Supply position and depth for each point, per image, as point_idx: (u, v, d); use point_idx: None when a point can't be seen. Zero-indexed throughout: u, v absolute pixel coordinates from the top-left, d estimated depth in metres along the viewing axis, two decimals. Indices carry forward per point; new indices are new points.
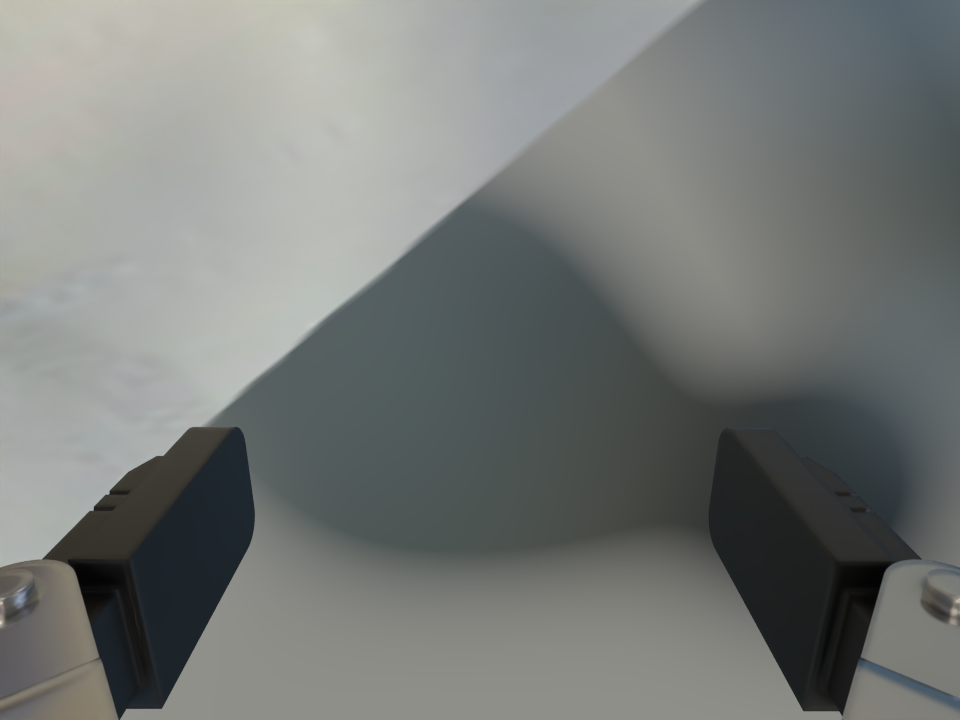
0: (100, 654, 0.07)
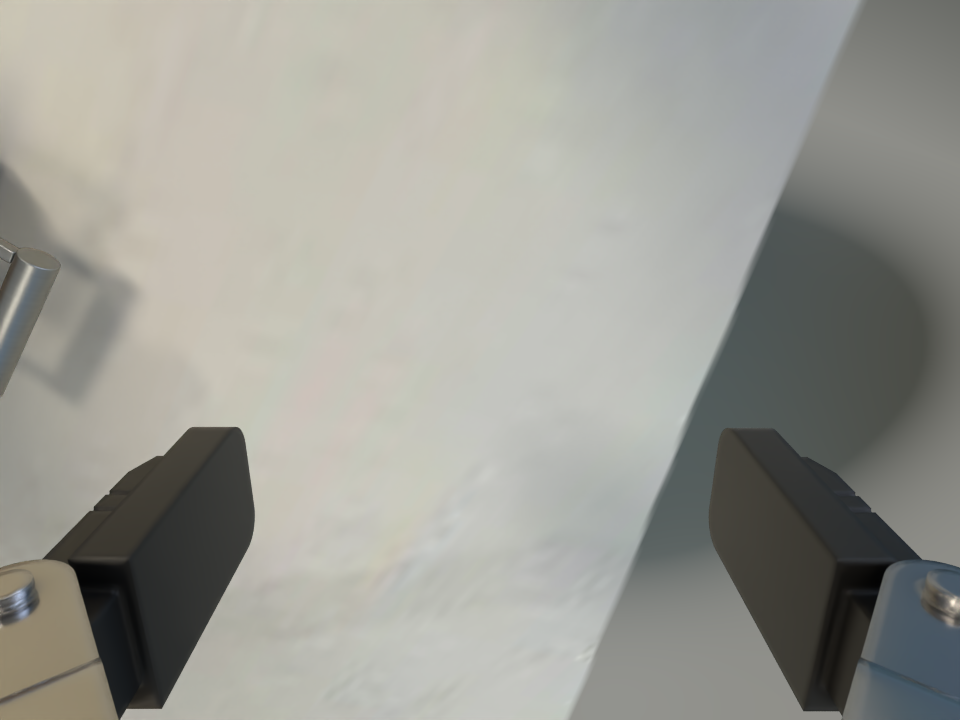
0: (100, 654, 0.07)
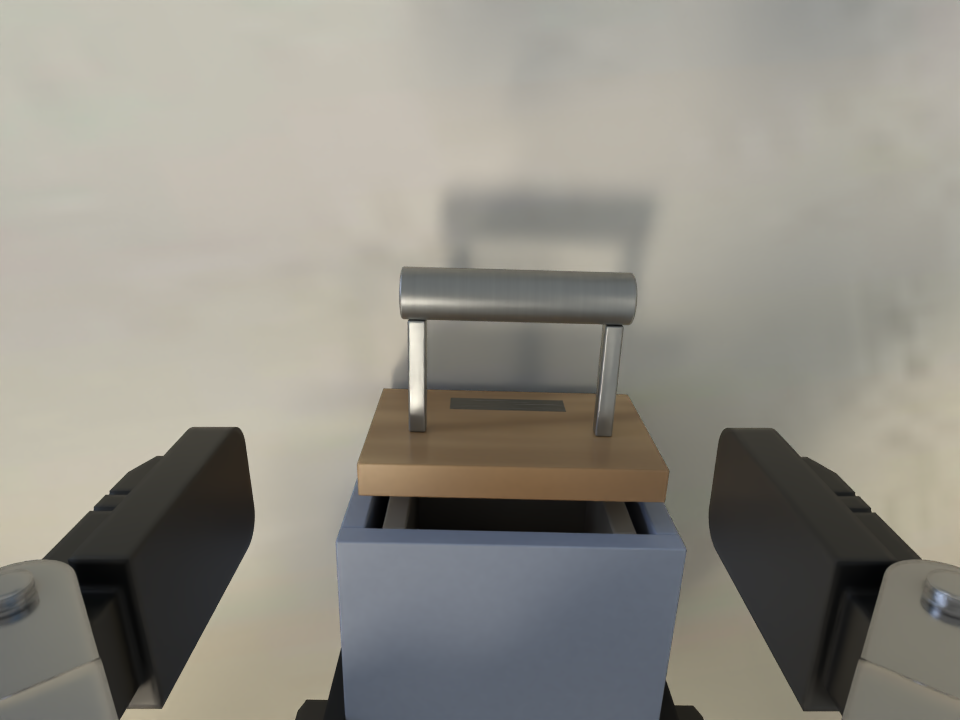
0: (100, 654, 0.07)
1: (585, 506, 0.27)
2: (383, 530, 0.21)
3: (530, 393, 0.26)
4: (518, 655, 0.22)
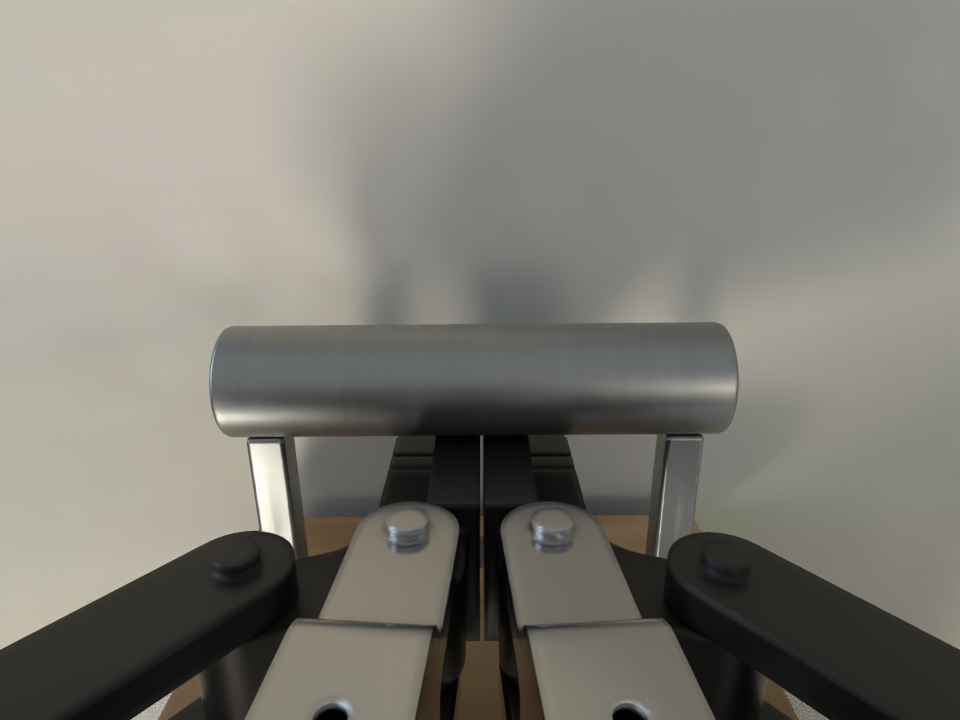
0: (464, 585, 0.08)
1: None
2: None
3: None
4: None
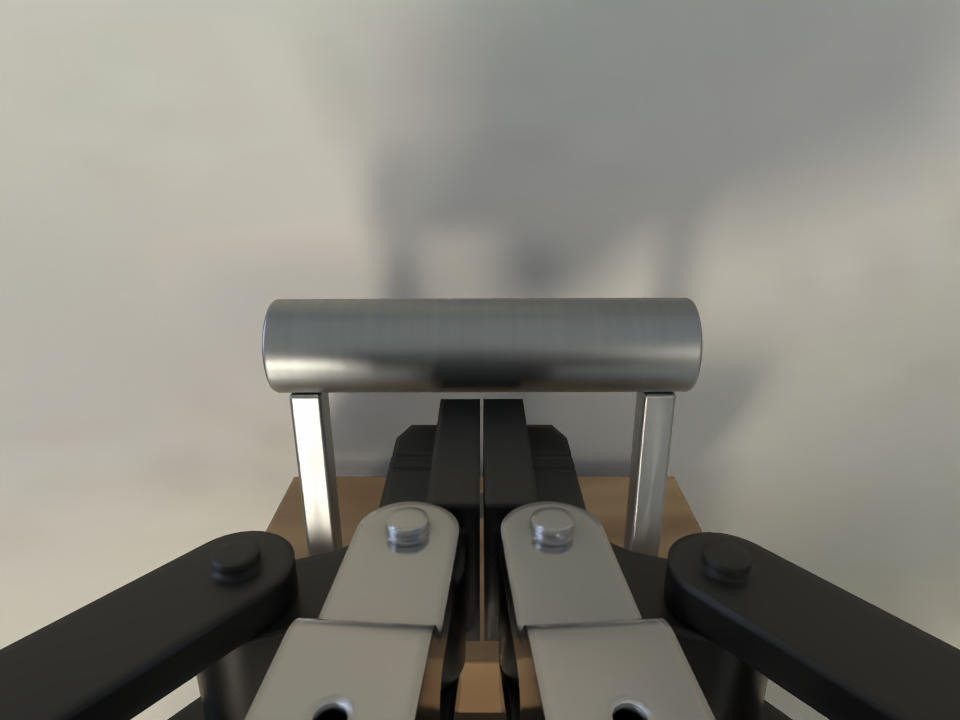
0: (464, 585, 0.08)
1: None
2: None
3: None
4: None
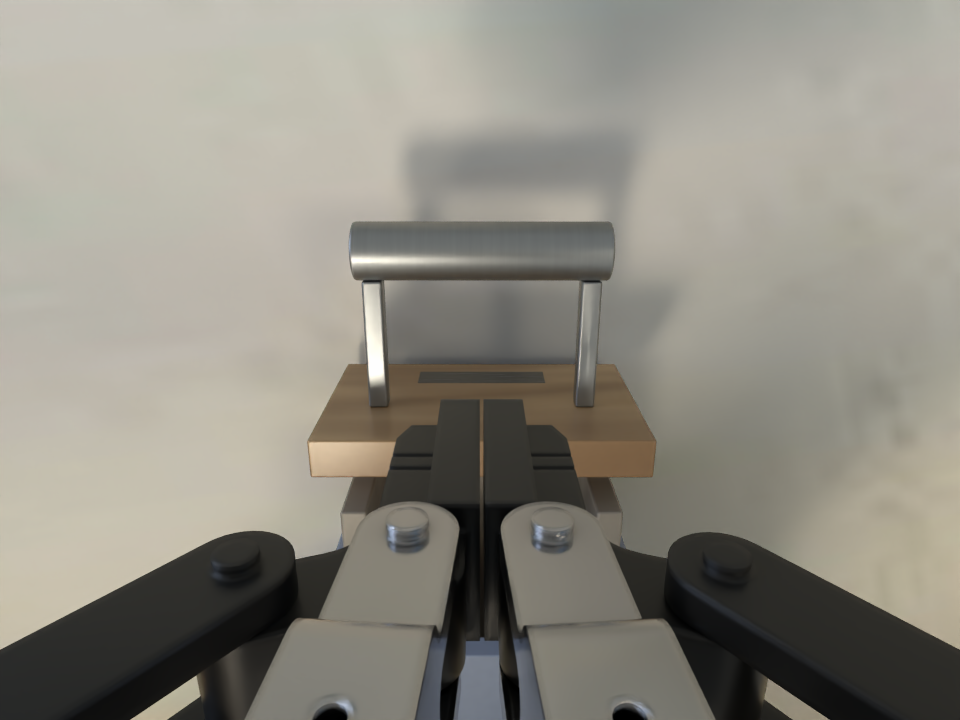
0: None
1: None
2: None
3: (507, 365, 0.24)
4: None
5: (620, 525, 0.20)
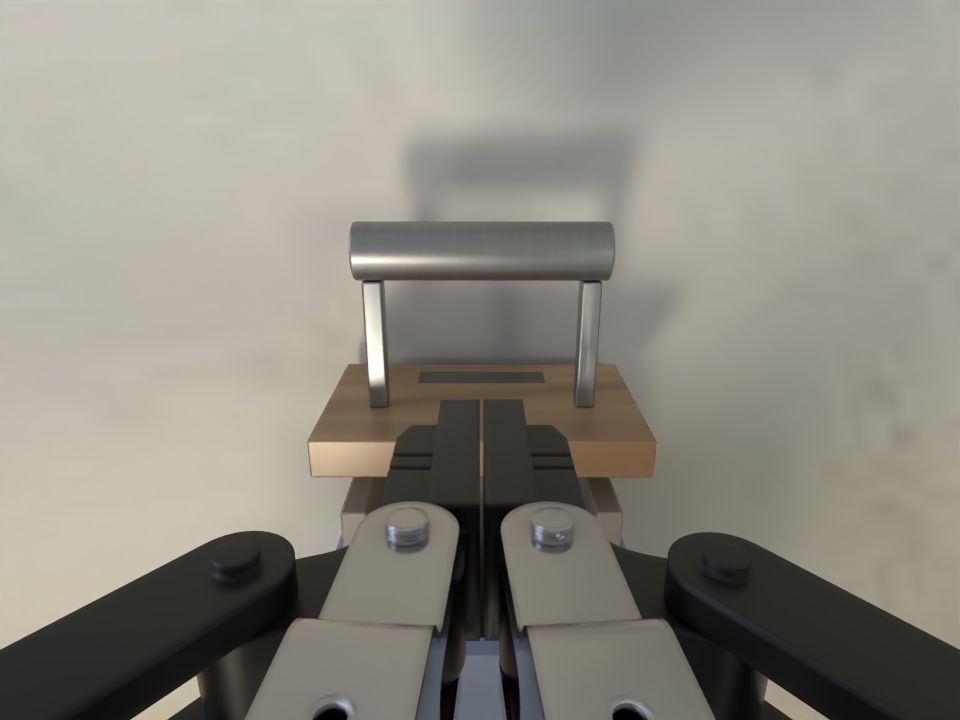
0: None
1: None
2: None
3: (507, 365, 0.24)
4: None
5: (620, 525, 0.20)
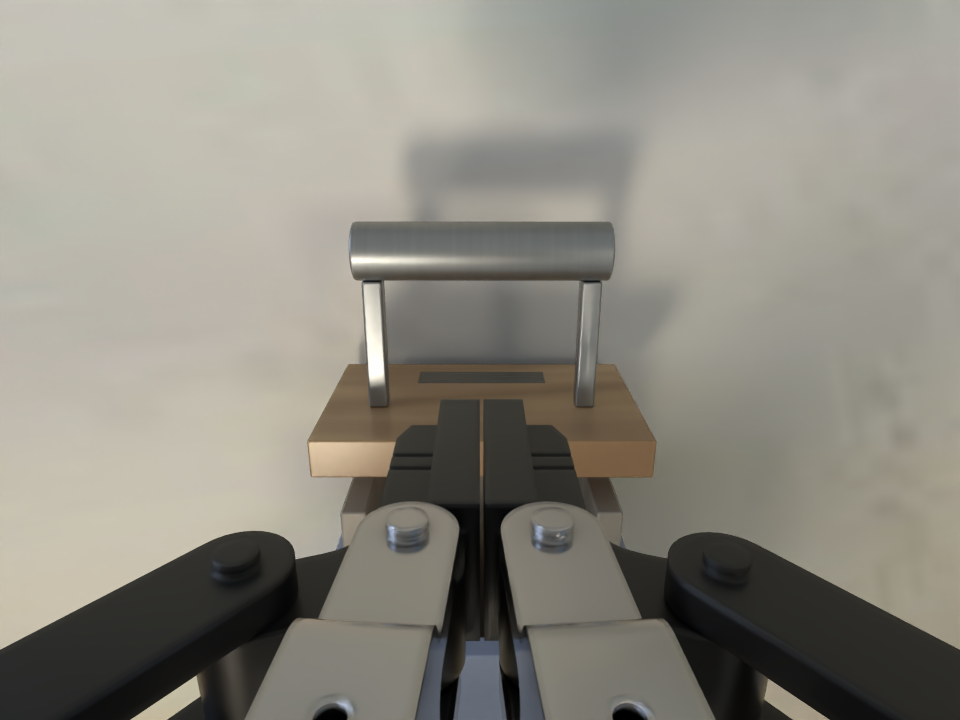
0: None
1: None
2: None
3: (507, 365, 0.24)
4: None
5: (620, 525, 0.20)
